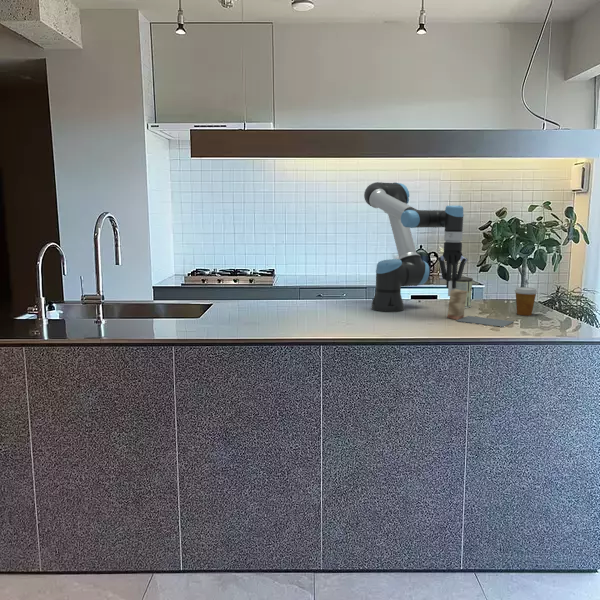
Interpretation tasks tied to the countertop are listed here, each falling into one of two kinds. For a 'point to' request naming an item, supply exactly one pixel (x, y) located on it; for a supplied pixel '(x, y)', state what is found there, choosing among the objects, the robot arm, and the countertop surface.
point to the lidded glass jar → (465, 288)
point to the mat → (485, 321)
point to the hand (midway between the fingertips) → (450, 295)
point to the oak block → (457, 304)
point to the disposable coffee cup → (525, 300)
